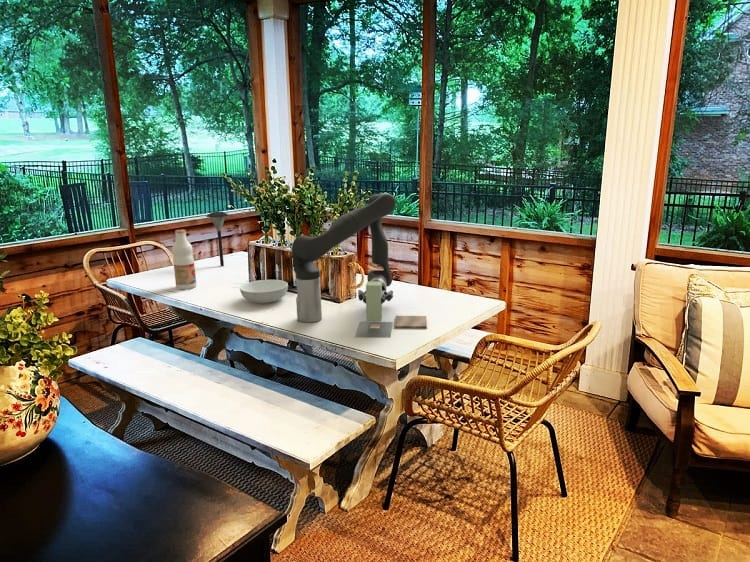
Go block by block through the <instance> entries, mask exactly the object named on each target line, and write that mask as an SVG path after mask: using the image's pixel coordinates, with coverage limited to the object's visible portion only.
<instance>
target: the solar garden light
mask: <svg viewBox="0 0 750 562" xmlns="http://www.w3.org/2000/svg"><path fill="white" fill-rule="evenodd" d="M228 216H230V214H228V213H226V212H224V211H211V212H210V213H208V215H206V218H210V220H211V222H212V224H213V225H214V227H215V229H216V231H217V240H218V241H217V242H218V243H217V244H218V251H219V252H218V253H219V261H220V262H219V263H220V267H221V266H223V267H224V266H225V265H224V254H223V242H222V241H223V240H222V231H221V230H222V229H223V226H224V222H225V220H226V217H228Z"/></svg>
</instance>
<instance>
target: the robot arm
mask: <svg viewBox="0 0 750 562" xmlns="http://www.w3.org/2000/svg"><path fill="white" fill-rule="evenodd" d="M396 201H397V200H396V197H394V195H392V194H391V193H387V192H382V193H375V194H372V195H370V196H369V198H368V200H367V204H366V205H365V206H362V207H359V208H355V209H353V210H350V211H348V212H346V213H343V214H342V215H340V216H339V217H337V218H336V219H334V220H333V222H332V223H331V224H330V226H329V228H328V230H326V231H325V232H323V233H321V234H320V235H317V236H307V235H299V236H296V238H295V239H294V240H293V242H292V246H291V252H292V258H293V267H294V271H295V273H296V280H297V287H296V294H297V296H296V298H295V300H296V303H295V304H296V319H297V322H301V323H302V322H303V323H316V322H319V321H321V320H322V318H323V315H322V314H323V313H322V311H323V310H322V292H321V272H320V269H319V268H318V266H316V265H315V263H314V262H316V261H317V260H320V259H322V257H323V256H325V255H326V254H327V253H329V252H330V251H331V250H332V249H333V248H335V247H336V246H338V245H339V244H342V243H343V242H345V241H346V240H348V239H350V238H351V237H353V236H355V235H356V234H357V233H360V232H361V231H362V230H363V229H365V228H367V227H368V226H369V229H370V236H371V263H372V264H373V265H377V266H380V267H382V269H378V270H377V269H372V270H370V271H369V272H368V273H367V281H372V282H382V296H381V304H382V305H383V304H384V303H385V302H386V301H387V302H390V301H391V300H392V299H393V298H394V290H389V291H387V287H390V286H391V284H392V283H393V276H392V273H391V270H390V265H389V243H388V239H387V237H386V234H385V232H384V228H383V223H382V219H383V218H384V217H386V216H388V215H390V214H392V213H393V211H394V210H395V209H396V205H397V202H396ZM357 291H358V292H357V294H358V295H357V296H358V300H359V301H360V302H361V301H362V303H364V304H365V305H366V290H365V291H363V290H361V289H359V290H357Z"/></svg>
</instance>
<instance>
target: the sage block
mask: <svg viewBox="0 0 750 562" xmlns="http://www.w3.org/2000/svg"><path fill="white" fill-rule="evenodd" d="M365 291H366V304H365V310H366V311H365V313H366V315H365V317H366V318H365V319H366V320H365V322H382V318H383V304H381V296H382V282H372V281H368V280H367V281H366V284H365Z"/></svg>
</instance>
